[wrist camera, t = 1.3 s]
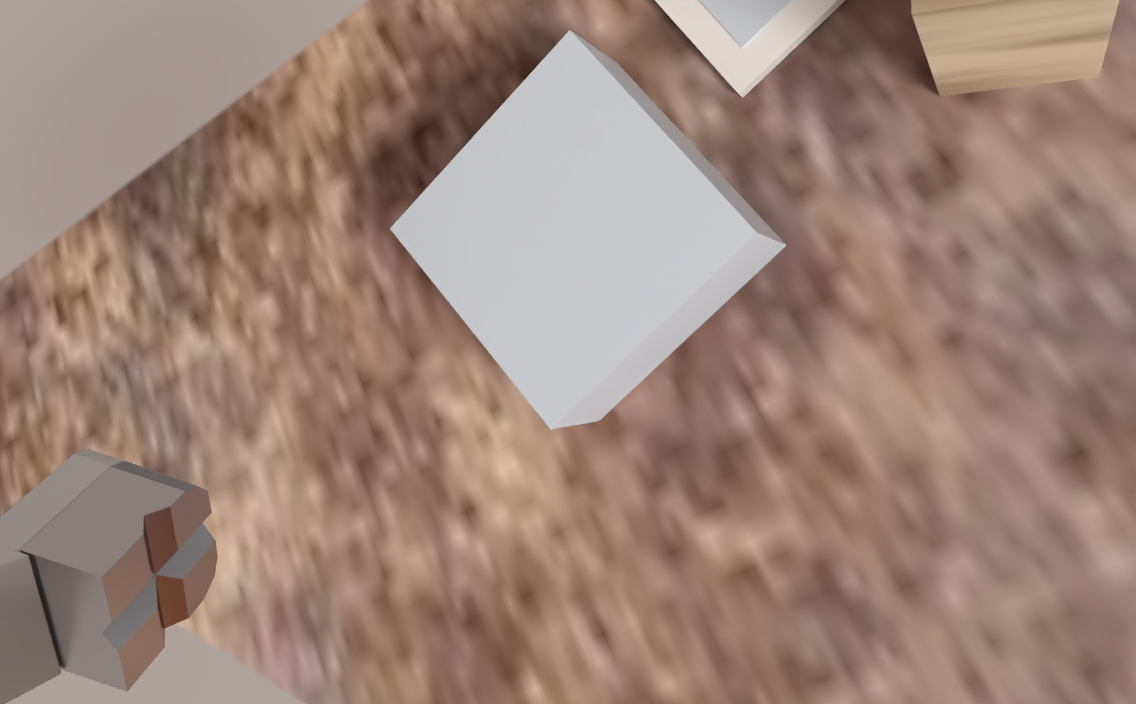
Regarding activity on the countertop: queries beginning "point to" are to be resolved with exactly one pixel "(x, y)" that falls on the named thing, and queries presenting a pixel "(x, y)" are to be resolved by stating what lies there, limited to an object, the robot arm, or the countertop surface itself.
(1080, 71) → the maple block
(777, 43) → the picture tile
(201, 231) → the countertop surface
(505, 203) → the grey-blue block
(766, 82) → the countertop surface
